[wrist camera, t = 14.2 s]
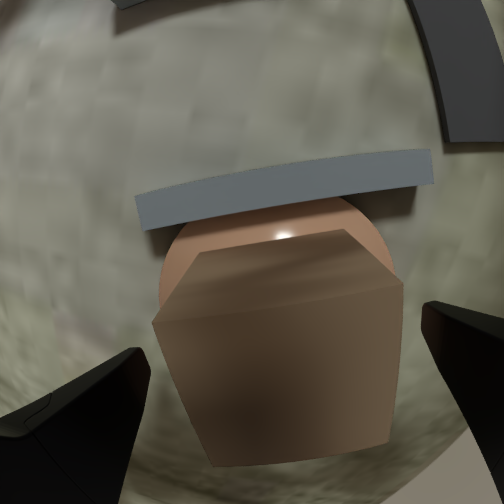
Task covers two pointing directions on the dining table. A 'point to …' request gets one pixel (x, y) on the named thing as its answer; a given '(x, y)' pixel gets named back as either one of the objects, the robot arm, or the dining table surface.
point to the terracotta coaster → (267, 233)
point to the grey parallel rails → (281, 183)
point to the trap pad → (463, 68)
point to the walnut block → (285, 348)
